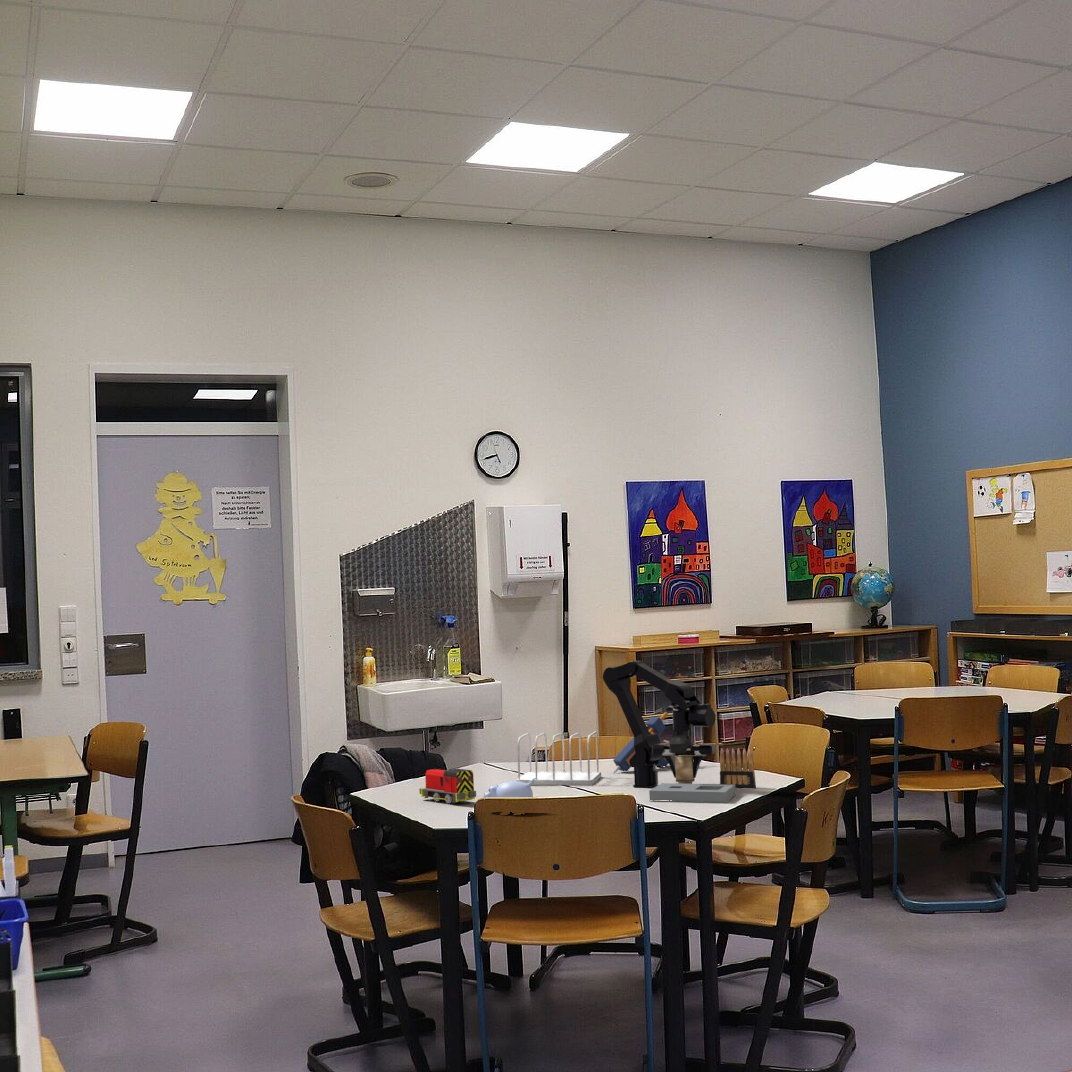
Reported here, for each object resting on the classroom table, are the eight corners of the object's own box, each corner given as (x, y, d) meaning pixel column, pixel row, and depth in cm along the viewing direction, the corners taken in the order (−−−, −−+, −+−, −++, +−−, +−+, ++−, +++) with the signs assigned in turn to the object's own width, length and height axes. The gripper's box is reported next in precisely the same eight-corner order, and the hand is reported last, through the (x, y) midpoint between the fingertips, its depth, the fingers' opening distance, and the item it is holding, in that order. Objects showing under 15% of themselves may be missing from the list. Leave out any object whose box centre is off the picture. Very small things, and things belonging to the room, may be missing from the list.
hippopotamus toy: (490, 809, 335) (488, 775, 335) (541, 809, 331) (539, 775, 332) (479, 816, 324) (477, 781, 325) (531, 816, 320) (530, 781, 321)
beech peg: (674, 790, 354) (672, 757, 354) (678, 787, 359) (677, 754, 359) (692, 791, 351) (690, 757, 352) (697, 788, 357) (695, 755, 357)
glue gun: (628, 801, 399) (606, 768, 395) (675, 740, 417) (654, 708, 412) (640, 802, 395) (618, 768, 390) (687, 740, 412) (666, 707, 408)
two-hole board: (649, 801, 337) (649, 790, 337) (662, 793, 350) (662, 783, 350) (725, 802, 329) (724, 792, 329) (735, 794, 342) (735, 784, 342)
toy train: (459, 806, 341) (457, 772, 342) (419, 800, 355) (418, 767, 356) (477, 803, 346) (475, 769, 346) (437, 797, 360) (435, 764, 361)
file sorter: (515, 786, 377) (513, 737, 378) (528, 777, 394) (526, 731, 395) (591, 785, 371) (589, 736, 372) (601, 777, 388) (599, 730, 389)
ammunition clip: (720, 787, 356) (717, 748, 357) (721, 787, 357) (719, 747, 358) (754, 788, 351) (752, 748, 352) (756, 787, 353) (754, 747, 354)
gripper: (645, 728, 352) (648, 781, 351) (706, 728, 345) (709, 782, 345) (655, 724, 363) (657, 775, 362) (715, 724, 356) (717, 776, 355)
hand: (685, 777), depth 355 cm, fingers closed on beech peg, 6 cm apart
